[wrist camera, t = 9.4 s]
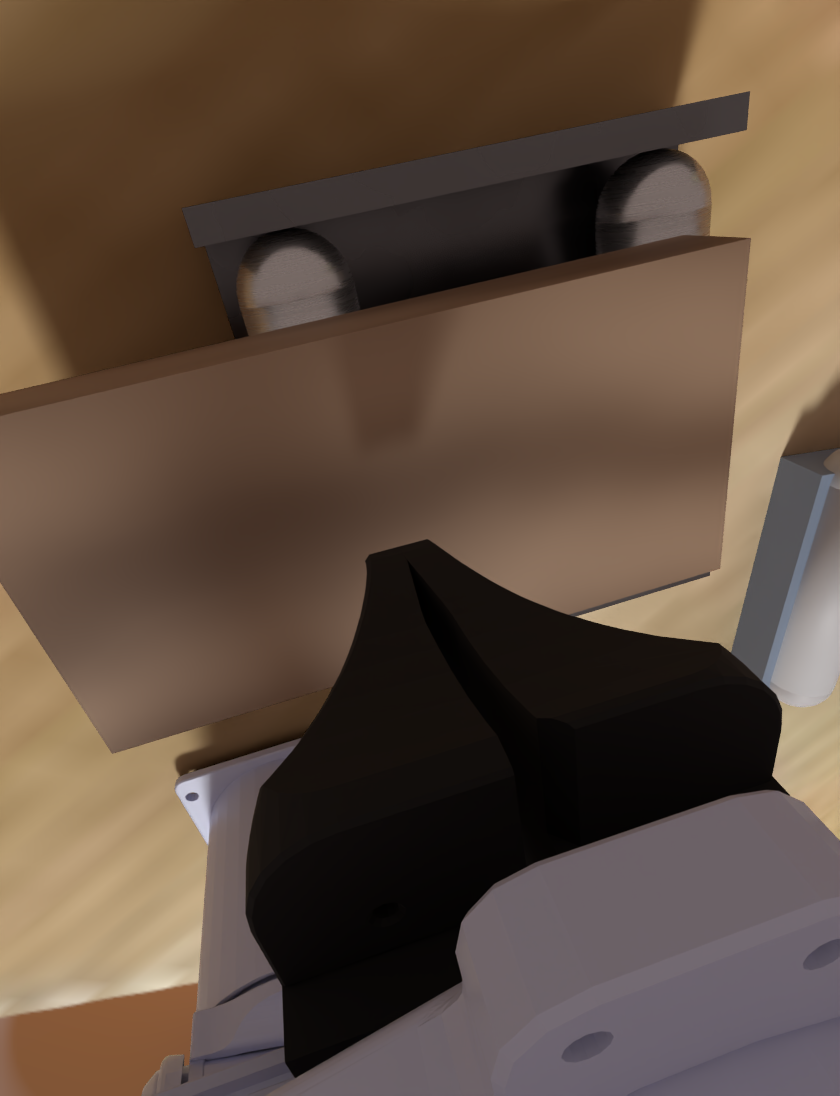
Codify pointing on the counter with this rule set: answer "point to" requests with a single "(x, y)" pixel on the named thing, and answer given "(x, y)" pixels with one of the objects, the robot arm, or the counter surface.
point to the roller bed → (461, 219)
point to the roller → (796, 584)
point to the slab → (369, 475)
